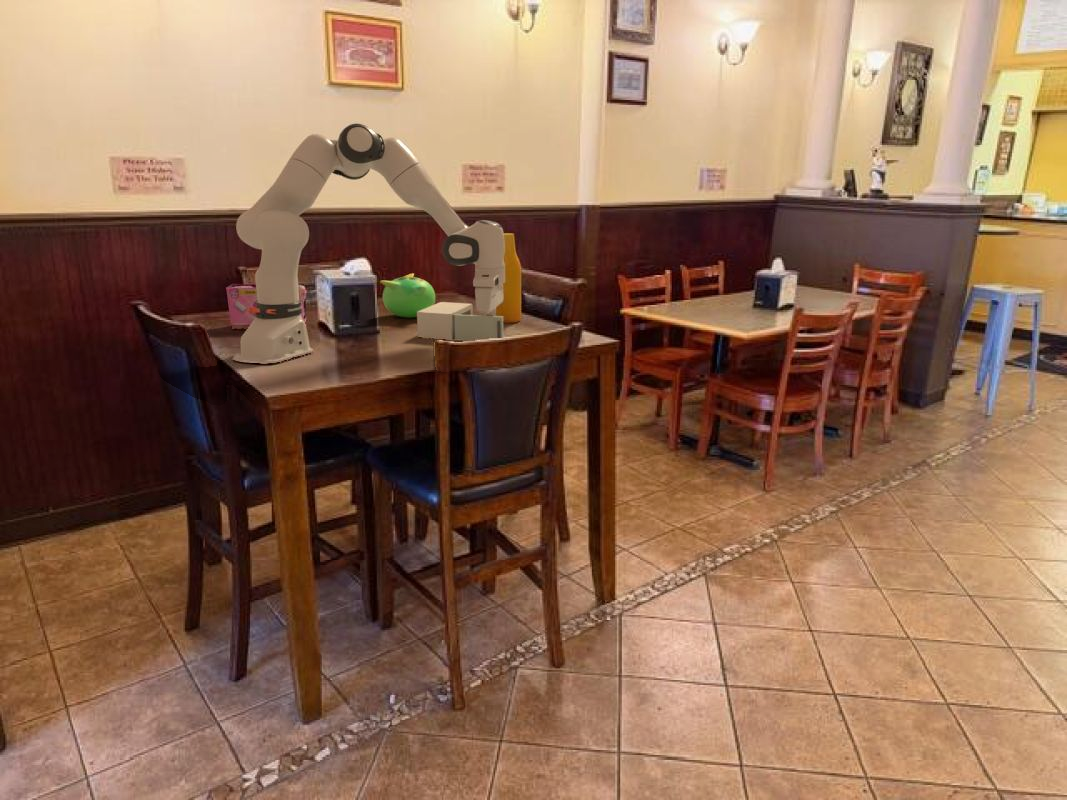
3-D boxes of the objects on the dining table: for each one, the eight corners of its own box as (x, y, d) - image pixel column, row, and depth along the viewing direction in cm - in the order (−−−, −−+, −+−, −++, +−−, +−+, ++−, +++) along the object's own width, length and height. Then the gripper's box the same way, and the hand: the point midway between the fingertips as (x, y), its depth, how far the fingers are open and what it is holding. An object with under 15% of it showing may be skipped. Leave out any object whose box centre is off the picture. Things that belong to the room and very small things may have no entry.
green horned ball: (440, 313, 268) (438, 272, 263) (429, 322, 252) (427, 279, 247) (390, 312, 269) (388, 270, 265) (377, 321, 253) (374, 277, 249)
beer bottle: (517, 323, 251) (518, 235, 243) (491, 322, 253) (490, 234, 244) (523, 318, 260) (524, 233, 251) (497, 317, 262) (497, 232, 253)
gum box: (311, 323, 249) (308, 283, 245) (307, 328, 242) (303, 286, 238) (236, 325, 247) (232, 283, 242) (230, 330, 239) (225, 287, 235)
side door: (451, 339, 226) (450, 315, 224) (453, 338, 228) (452, 314, 226) (502, 342, 224) (501, 317, 222) (503, 340, 226) (503, 316, 224)
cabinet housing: (451, 340, 227) (450, 314, 225) (417, 337, 230) (416, 311, 228) (475, 327, 246) (474, 302, 243) (444, 324, 249) (443, 300, 246)
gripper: (488, 271, 232) (489, 315, 237) (471, 281, 213) (472, 329, 217) (508, 271, 231) (508, 316, 235) (492, 282, 212) (493, 330, 216)
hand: (491, 322), depth 226 cm, fingers closed
